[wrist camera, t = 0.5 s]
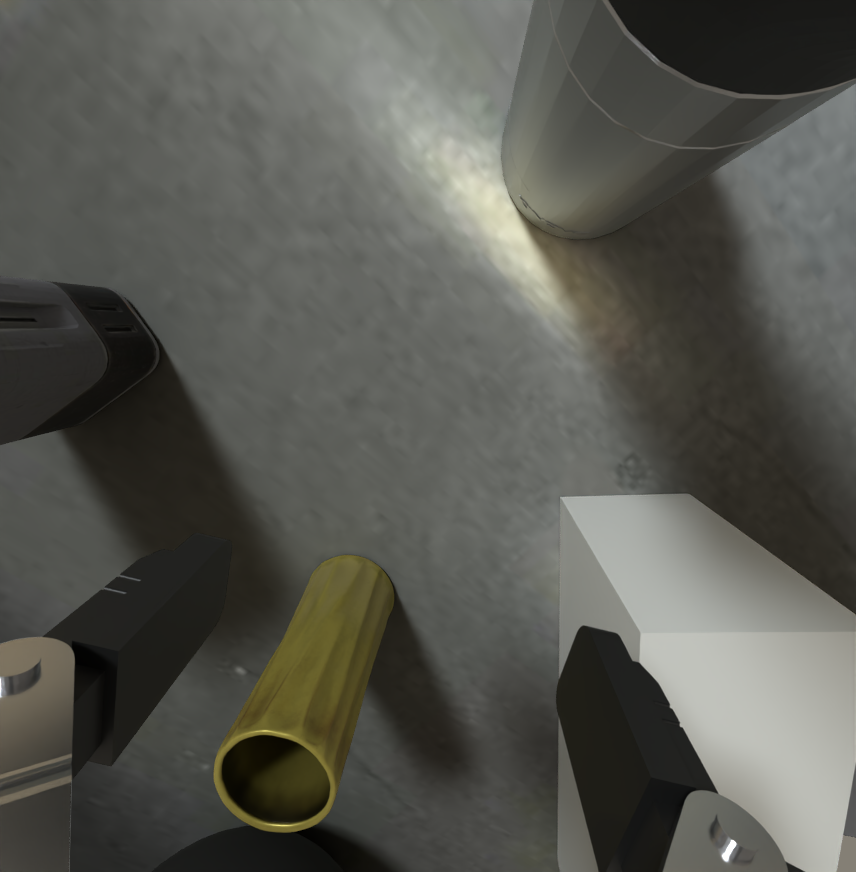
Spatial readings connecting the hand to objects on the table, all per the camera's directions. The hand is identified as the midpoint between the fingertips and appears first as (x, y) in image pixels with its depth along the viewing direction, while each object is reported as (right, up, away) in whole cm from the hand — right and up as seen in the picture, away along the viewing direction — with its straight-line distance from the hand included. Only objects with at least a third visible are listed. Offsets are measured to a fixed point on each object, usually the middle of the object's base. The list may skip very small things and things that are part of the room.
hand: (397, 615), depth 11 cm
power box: (+14, -14, +23) cm, 30 cm away
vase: (-5, -7, +23) cm, 24 cm away
